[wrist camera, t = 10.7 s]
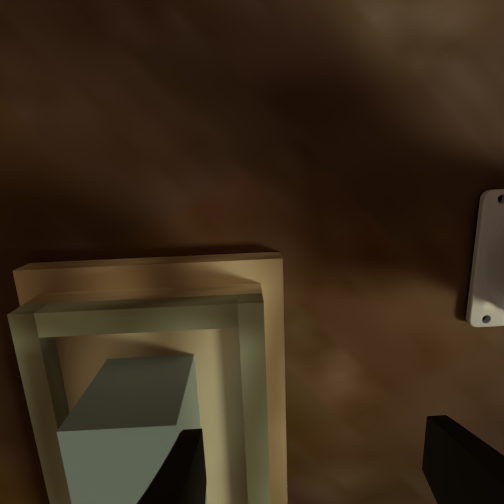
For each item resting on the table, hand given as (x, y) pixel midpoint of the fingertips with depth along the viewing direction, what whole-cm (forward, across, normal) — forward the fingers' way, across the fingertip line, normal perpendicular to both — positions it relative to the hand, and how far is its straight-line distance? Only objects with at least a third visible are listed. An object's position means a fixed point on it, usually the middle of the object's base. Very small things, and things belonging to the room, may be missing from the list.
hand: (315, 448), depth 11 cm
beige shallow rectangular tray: (+10, +7, +6) cm, 14 cm away
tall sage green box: (+7, +7, +6) cm, 11 cm away
